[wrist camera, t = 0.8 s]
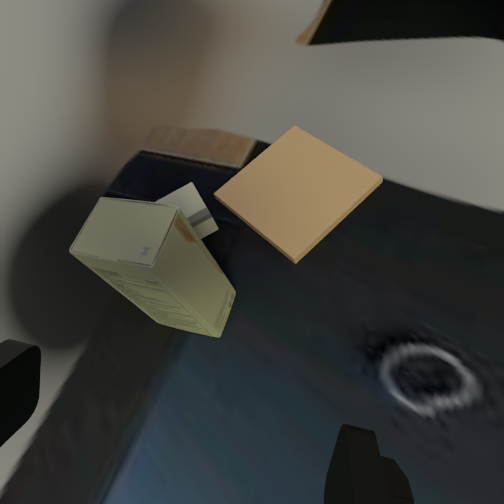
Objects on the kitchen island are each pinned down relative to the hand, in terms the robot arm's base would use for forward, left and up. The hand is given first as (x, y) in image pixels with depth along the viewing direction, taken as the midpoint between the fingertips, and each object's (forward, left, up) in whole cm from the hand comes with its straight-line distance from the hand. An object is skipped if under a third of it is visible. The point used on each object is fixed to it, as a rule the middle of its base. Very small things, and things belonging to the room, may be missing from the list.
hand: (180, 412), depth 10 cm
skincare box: (-2, -14, -20) cm, 24 cm away
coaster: (-16, -16, -20) cm, 30 cm away
